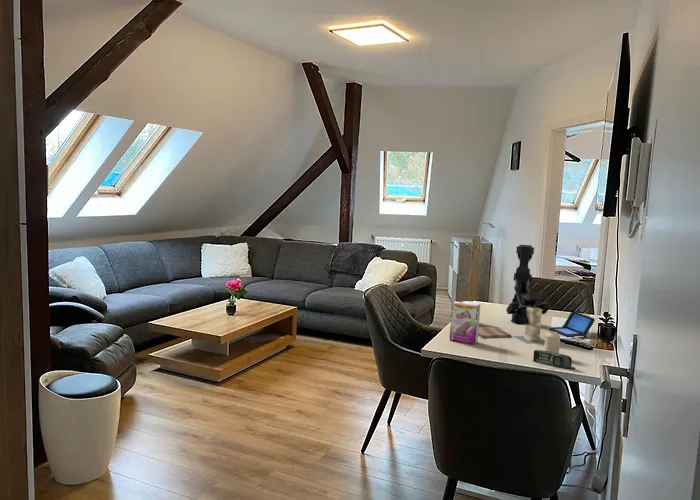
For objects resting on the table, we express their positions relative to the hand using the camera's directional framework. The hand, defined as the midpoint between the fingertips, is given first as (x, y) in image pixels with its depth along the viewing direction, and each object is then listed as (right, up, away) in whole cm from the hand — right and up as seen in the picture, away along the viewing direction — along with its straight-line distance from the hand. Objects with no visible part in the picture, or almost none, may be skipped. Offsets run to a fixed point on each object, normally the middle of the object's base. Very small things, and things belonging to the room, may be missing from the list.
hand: (534, 324), depth 233 cm
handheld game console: (+22, -7, +16) cm, 28 cm away
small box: (-22, -4, +28) cm, 35 cm away
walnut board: (-17, -5, +9) cm, 20 cm away
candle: (-1, -10, -23) cm, 25 cm away
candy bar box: (-32, -7, -6) cm, 33 cm away
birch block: (-1, -7, +2) cm, 7 cm away
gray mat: (-1, -7, +2) cm, 7 cm away
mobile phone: (-4, -11, -33) cm, 35 cm away
